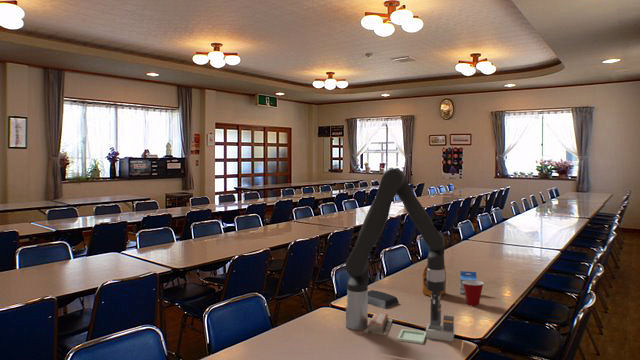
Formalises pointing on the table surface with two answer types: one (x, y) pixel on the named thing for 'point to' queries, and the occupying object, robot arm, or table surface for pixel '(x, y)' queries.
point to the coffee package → (425, 290)
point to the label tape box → (466, 277)
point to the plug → (438, 322)
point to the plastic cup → (473, 291)
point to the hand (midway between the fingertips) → (435, 318)
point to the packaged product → (379, 324)
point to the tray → (412, 336)
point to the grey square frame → (442, 330)
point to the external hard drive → (381, 299)
